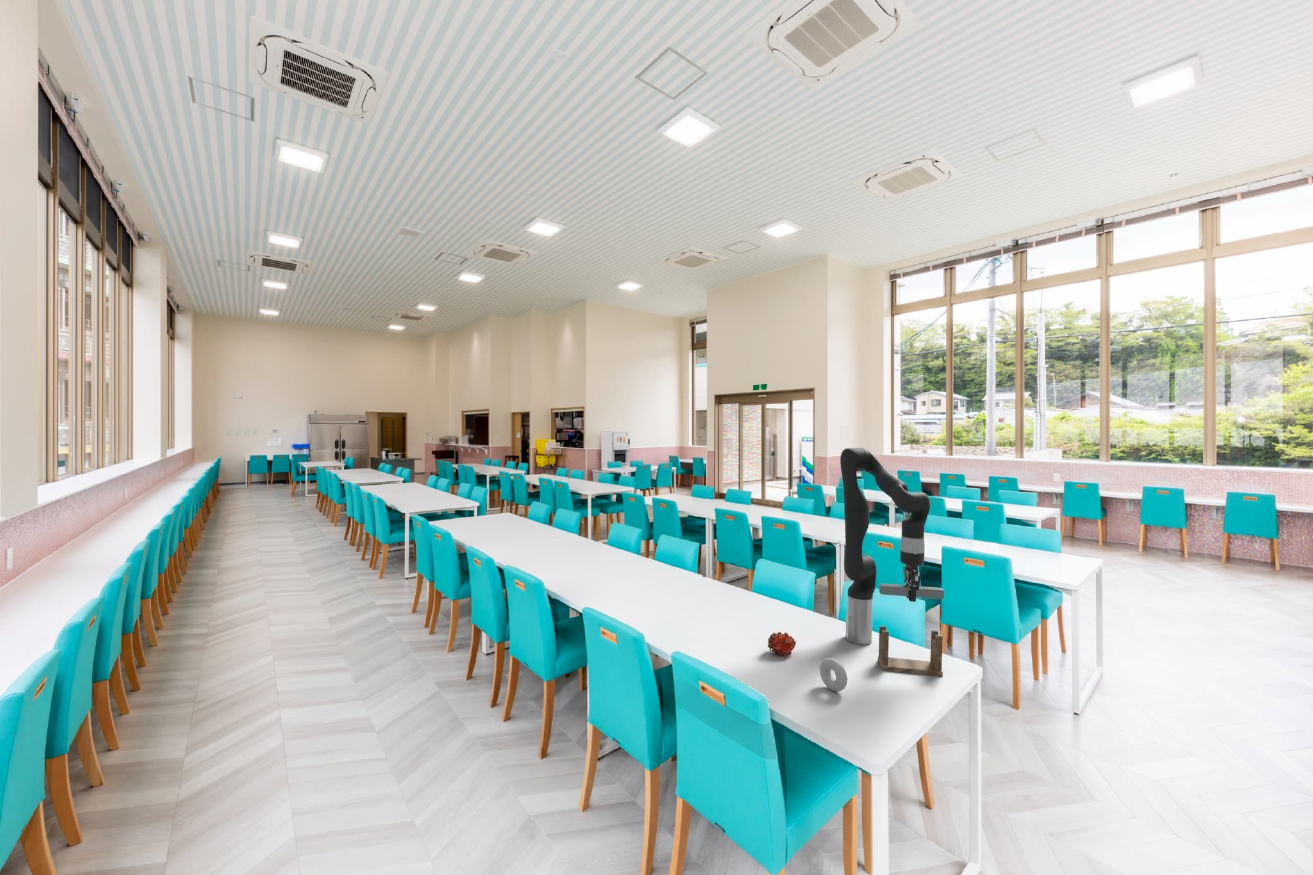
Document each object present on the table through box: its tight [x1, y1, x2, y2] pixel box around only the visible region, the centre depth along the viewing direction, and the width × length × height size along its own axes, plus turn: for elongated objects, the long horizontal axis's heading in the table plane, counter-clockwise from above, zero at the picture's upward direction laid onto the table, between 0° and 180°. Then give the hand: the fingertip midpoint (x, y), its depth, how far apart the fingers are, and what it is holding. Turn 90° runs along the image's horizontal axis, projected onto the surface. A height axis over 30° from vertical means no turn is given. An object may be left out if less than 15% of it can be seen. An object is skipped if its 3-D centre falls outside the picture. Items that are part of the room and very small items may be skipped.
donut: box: [819, 657, 848, 693], centre depth 169 cm, size 10×4×10 cm, turn 30°
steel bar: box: [878, 582, 945, 600], centre depth 185 cm, size 20×3×3 cm, turn 78°
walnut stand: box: [877, 625, 944, 677], centre depth 186 cm, size 19×8×13 cm, turn 78°
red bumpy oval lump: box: [767, 631, 797, 657], centre depth 196 cm, size 8×8×12 cm
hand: (910, 599), depth 185 cm, fingers closed on steel bar, 3 cm apart
